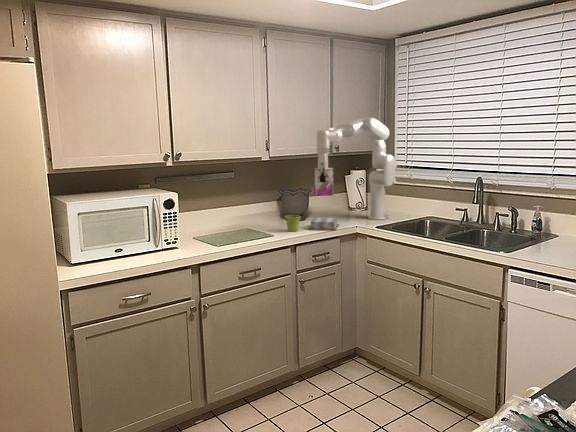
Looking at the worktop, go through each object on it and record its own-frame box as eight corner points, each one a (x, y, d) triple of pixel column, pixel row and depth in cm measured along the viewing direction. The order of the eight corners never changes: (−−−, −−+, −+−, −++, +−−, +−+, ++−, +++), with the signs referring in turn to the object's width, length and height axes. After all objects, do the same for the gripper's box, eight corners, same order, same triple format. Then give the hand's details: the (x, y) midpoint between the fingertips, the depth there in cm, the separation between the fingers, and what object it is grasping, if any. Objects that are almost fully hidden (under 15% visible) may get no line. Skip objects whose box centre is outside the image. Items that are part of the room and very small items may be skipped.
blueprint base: (339, 225, 302) (339, 217, 302) (335, 230, 287) (335, 222, 286) (313, 224, 306) (313, 217, 305) (308, 229, 291) (308, 222, 290)
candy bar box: (314, 196, 291) (314, 168, 288) (314, 194, 296) (314, 167, 293) (333, 195, 290) (332, 168, 287) (333, 194, 295) (333, 167, 292)
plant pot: (289, 228, 296) (289, 214, 295) (303, 229, 292) (303, 215, 290) (282, 231, 288) (282, 217, 287) (296, 232, 284) (296, 218, 282)
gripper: (319, 150, 298) (320, 180, 301) (314, 152, 281) (315, 183, 284) (331, 150, 296) (332, 180, 299) (327, 151, 279) (327, 183, 283)
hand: (323, 181), depth 292 cm, fingers closed on candy bar box, 5 cm apart
